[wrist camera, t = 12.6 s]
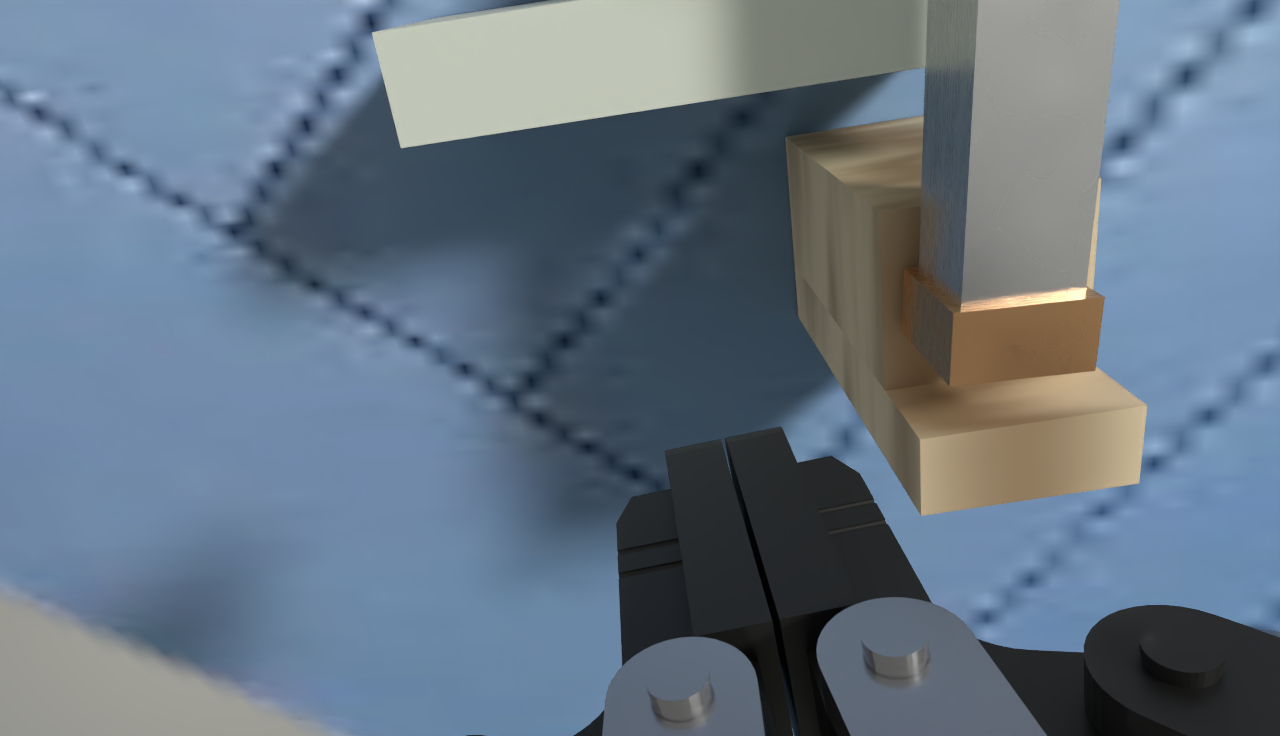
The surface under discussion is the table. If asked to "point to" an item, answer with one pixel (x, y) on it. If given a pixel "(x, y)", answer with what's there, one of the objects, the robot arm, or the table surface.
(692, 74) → the door edge
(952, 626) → the robot arm
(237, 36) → the table surface
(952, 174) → the bar
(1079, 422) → the keeper
